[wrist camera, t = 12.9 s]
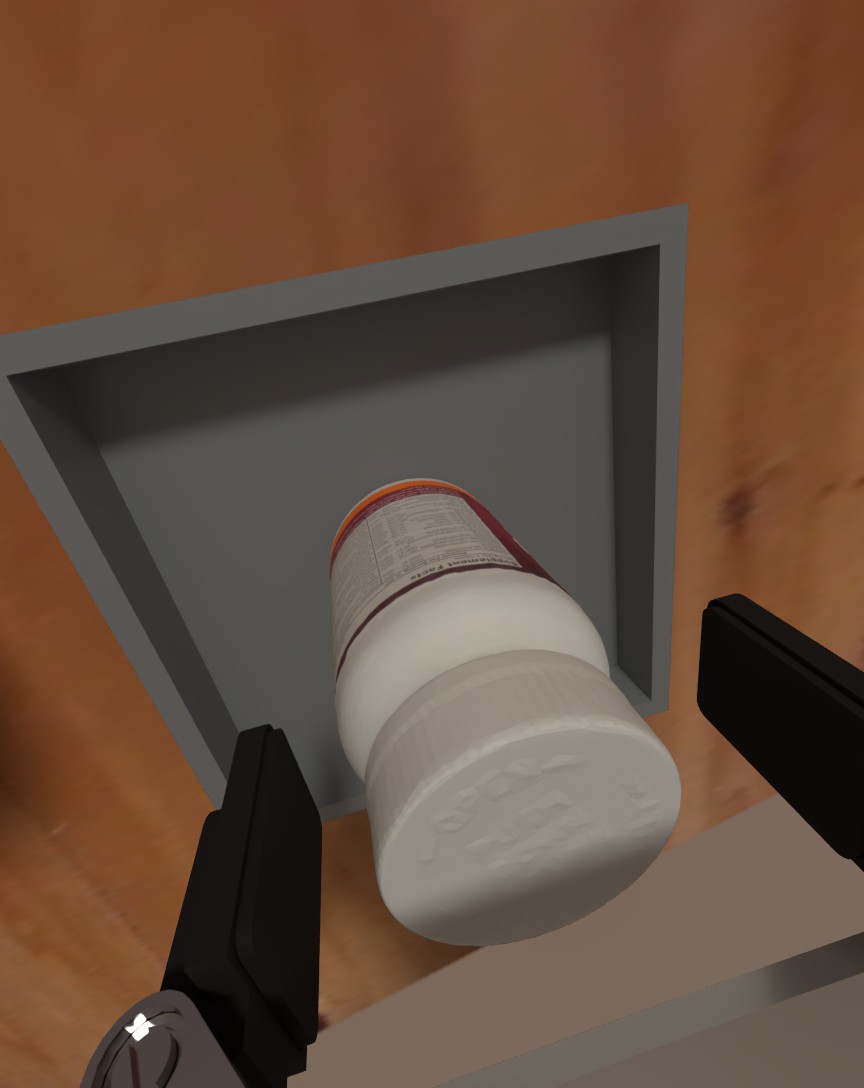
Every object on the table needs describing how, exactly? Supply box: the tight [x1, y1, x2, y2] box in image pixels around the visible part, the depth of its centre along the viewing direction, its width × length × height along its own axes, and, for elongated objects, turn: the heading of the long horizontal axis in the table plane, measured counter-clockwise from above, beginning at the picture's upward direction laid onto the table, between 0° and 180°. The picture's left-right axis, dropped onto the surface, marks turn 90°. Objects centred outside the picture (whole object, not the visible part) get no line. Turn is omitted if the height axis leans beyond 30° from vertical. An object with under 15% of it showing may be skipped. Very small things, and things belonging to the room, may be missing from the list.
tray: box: [0, 203, 688, 823], centre depth 17 cm, size 18×18×3 cm
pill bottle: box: [330, 478, 681, 946], centre depth 13 cm, size 6×6×11 cm
